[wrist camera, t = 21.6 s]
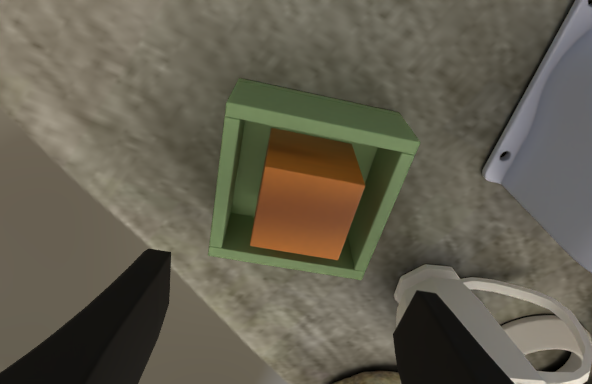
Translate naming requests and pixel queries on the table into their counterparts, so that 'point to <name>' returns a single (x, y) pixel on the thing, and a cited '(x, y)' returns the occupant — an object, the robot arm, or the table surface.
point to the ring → (546, 337)
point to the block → (306, 195)
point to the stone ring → (372, 378)
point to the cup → (493, 320)
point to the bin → (319, 123)
